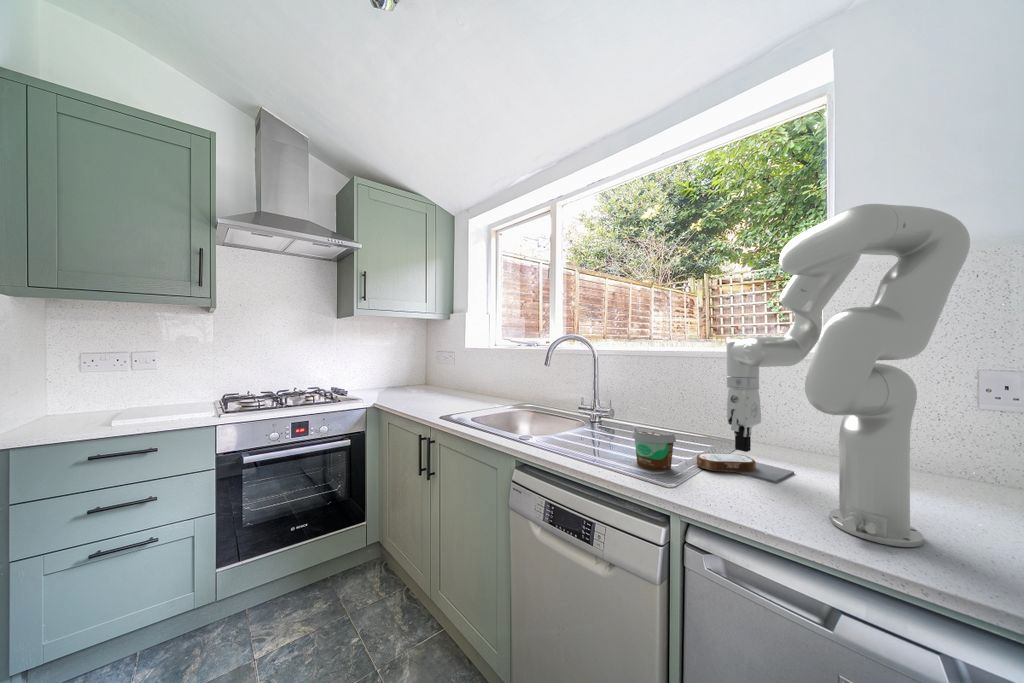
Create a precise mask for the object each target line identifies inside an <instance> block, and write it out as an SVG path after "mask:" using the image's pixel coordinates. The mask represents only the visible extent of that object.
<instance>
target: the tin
mask: <svg viewBox="0 0 1024 683" xmlns="http://www.w3.org/2000/svg"><path fill="white" fill-rule="evenodd" d="M755 462H756V460H755V459H753V458H752V457H750V456H747V455H743V454H739V453H724V452H722V453H721V452H701V453H698V454H697V455H696V466H698V467H699V468H702V469H705V470H709V471H715V472H733V473H737V472H753V471H755V470H756V463H755Z"/></svg>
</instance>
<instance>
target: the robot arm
mask: <svg viewBox="0 0 1024 683" xmlns="http://www.w3.org/2000/svg"><path fill="white" fill-rule="evenodd" d="M970 248H971V239H970V233H969V231H968V229H967V227H966V226H965V224H964V223H963V222H962V221H961V220H959V219H958V218H957V217H955V216H953V215H952V214H950V213H947V212H944V211H942V210H937V209H934V208H929V207H923V206H916V205H913V206H912V205H896V204H888V203H887V204H885V203H865V204H860V205H857V206H852V207H851V208H848V209H846V210H844V211H841V212H840V213H838V214H835V215H833V216H831V217H829V218H828V219H826V220H824V221H822V222H819V223H818V224H816V225H813V226H812V227H809V228H807V229H806V230H804V231H802V232H801V233H798V234H797V235H794V237H792V238H791V239H790V240H789V241H788V242H787V243H786V245H784V247H783V248H782V250H781V252H780V254H779V260H778V261H779V266H780V269H781V270H782V271H783V273H786V274H789V275H791V277H790V279H789V281H788V283H787V284H786V286H785V287H784V289H783V290H782V292H781V293H780V296H779V298H778V299H779V302H780V304H781V305H782V306H783V307H784V308H785V309H787V310H789V311H790V312H792V313H794V319H793V320H794V321H793V323H792V325H791V327H790V328H789V329H788V331H787V332H786V333H785V335H784V336H764V337H763V336H760V337H759V336H757V337H751V338H750V337H748V338H747V337H742V338H741V337H739V338H738V337H737V338H735V337H734V338H730V339H728V340H727V342H726V389H727V390H728V391H727V400H726V422H727V424H728V425H730V430H731V431H733V434H734V448H735V450H736V451H741V452H744V453H749V452H751V447H752V446H751V439H752V438H751V436H752V428H753V427H754V426H757V425H759V424H761V422H762V413H761V411H762V410H761V398H760V391H759V390H760V368H770V367H792V366H796V365H797V364H799V363H801V362H803V360H804V359H805V358H806V357H807V356H808V354H810V353H811V351H812V350H813V348H815V350H814V352H813V356H812V358H811V361H810V365H809V366H808V371H807V373H806V376H805V380H804V393H805V395H806V396H805V397H806V399H807V400H808V402H809V403H810V405H812V407H814V409H816V410H818V411H819V412H821V413H824V414H826V415H829V416H830V415H832V416H843V418H842V421H841V423H840V427H839V434H838V435H839V436H838V437H839V438H838V439H839V440H838V480H839V482H838V492H839V494H838V496H839V497H838V498H839V500H838V503H839V506H838V508H835V509H832V510H830V511H829V512H828V518H829V519H828V520H829V521H830V522H831V523H832V524H833V525H834V526H835V527H837V528H839V529H840V530H842V531H844V532H846V533H848V534H851V535H853V536H855V537H858V538H861V539H864V540H866V541H870V542H875V543H877V544H882V545H887V546H892V547H898V548H899V547H900V548H916V547H920V546H922V545H923V544H924V535H923V534H922V533H921V532H920V531H919V530H918V529H917V528H915V527H913V526H911V478H910V477H911V472H910V471H911V470H910V468H911V466H910V463H911V460H910V458H911V430H912V422H913V416H914V413H915V409H916V405H917V399H918V391H917V386H916V383H915V382H914V380H913V378H912V377H911V376H910V375H909V374H908V373H907V372H906V371H904V370H903V369H901V368H899V367H897V366H894V365H890V364H886V363H878V362H877V361H899V360H907V359H912V358H915V357H917V356H918V355H920V354H921V353H922V352H923V351H924V350H926V347H927V346H928V344H929V343H930V340H931V338H932V335H933V334H934V330H935V328H936V326H937V324H938V321H939V319H940V317H941V315H942V313H943V310H944V307H945V306H946V303H947V301H948V297H949V295H950V292H951V290H952V288H953V285H954V284H955V282H956V279H957V277H958V275H959V274H960V272H961V270H962V268H963V266H964V264H965V262H966V259H967V257H968V255H969V252H970ZM861 255H871V256H872V255H873V256H892V257H893V256H894V257H895V258H897V261H896V263H895V264H894V265H893V266H892V267H890V269H889V270H888V271H887V272H886V274H884V276H883V277H882V279H881V280H880V282H879V284H878V288H877V291H876V294H875V296H874V298H873V301H872V302H871V304H870V306H856V307H850V308H846V309H844V310H841V311H839V312H837V313H836V314H834V315H833V316H832V317H831V318H829V320H828V321H827V322H826V323H825V324H824V326H823V321H822V320H823V319H822V311H823V310H824V309H825V307H826V306H827V305H828V303H829V302H830V301H831V299H832V298H833V296H834V295H835V293H837V291H838V290H839V288H840V287H841V286H842V285H843V283H844V282H845V280H846V279H847V278H848V276H849V274H851V272H852V270H854V268H855V266H856V265H857V264H858V262H859V260H860V258H861ZM822 326H823V328H822ZM815 346H816V347H815Z"/></svg>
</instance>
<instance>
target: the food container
mask: <svg viewBox="0 0 1024 683" xmlns="http://www.w3.org/2000/svg"><path fill="white" fill-rule="evenodd" d="M631 436H632V438H633V439H634V445H635V446H634V447H635V454H636V455H635V456H636V464H637V466H639V467H640V468H642V469H645V470H649V471H656V472H658V471H661V472H663V471H669V470H670V469H672V461H673V453H674V452H673V450H674V443H676V442H677V439H676V436H675V433H672V434H668V435H667V434H666V435H664V434H661V433H657V432H653V431H652V432H649V431H648V432H647V431H640V430H637V427H634V428H633V431H632V435H631Z"/></svg>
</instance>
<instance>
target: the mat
mask: <svg viewBox="0 0 1024 683" xmlns="http://www.w3.org/2000/svg"><path fill="white" fill-rule="evenodd" d="M755 463H756V470H755V471H753V472H736V473H737V474H740V475H744V476H747V475H748V476H749V477H751V478H754V479H759V480H762V481H766V482H769V483H772V484H777V483H779V482H780V481H782V480H785V479H786V478H788V476H789V477H791V476H792V474H793V475H795V471H793V470H790V469H785V468H783V467H782V468H781V467H778V466H774V465H769V464H765V463H762V462H758V461H757V462H756V461H755ZM790 475H791V476H790Z"/></svg>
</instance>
